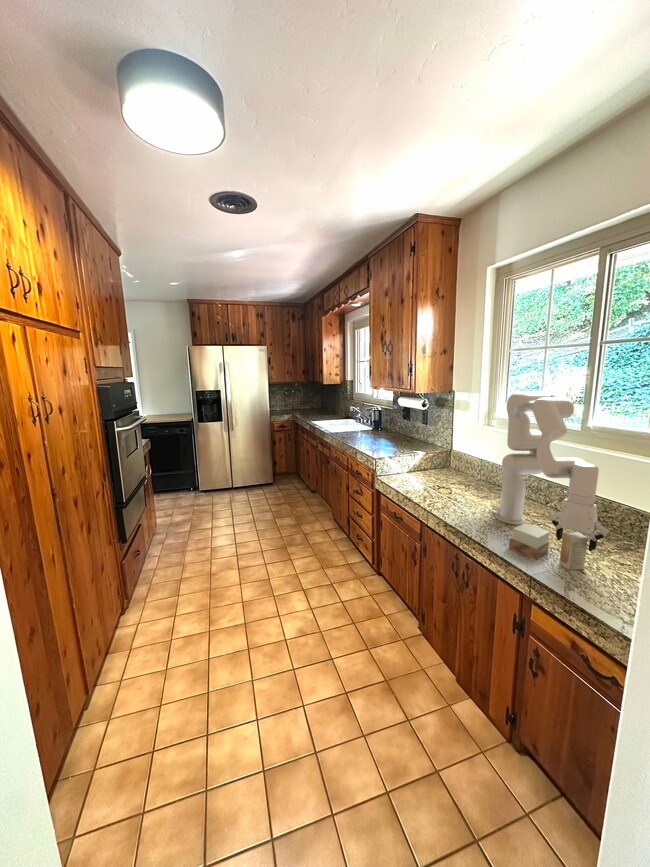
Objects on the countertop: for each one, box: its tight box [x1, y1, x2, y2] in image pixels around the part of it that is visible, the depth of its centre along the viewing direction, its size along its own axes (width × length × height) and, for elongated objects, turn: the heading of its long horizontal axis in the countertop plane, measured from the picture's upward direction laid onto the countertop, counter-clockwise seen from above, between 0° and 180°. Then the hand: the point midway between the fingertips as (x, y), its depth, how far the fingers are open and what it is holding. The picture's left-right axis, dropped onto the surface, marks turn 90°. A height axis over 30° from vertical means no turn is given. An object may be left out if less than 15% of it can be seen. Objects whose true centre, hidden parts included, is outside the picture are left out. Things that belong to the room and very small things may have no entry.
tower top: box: [511, 522, 551, 549], centre depth 133 cm, size 9×9×4 cm
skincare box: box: [559, 531, 589, 571], centre depth 123 cm, size 6×4×12 cm
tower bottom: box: [508, 537, 550, 561], centre depth 134 cm, size 10×10×4 cm
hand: (574, 544), depth 122 cm, fingers open, 9 cm apart
